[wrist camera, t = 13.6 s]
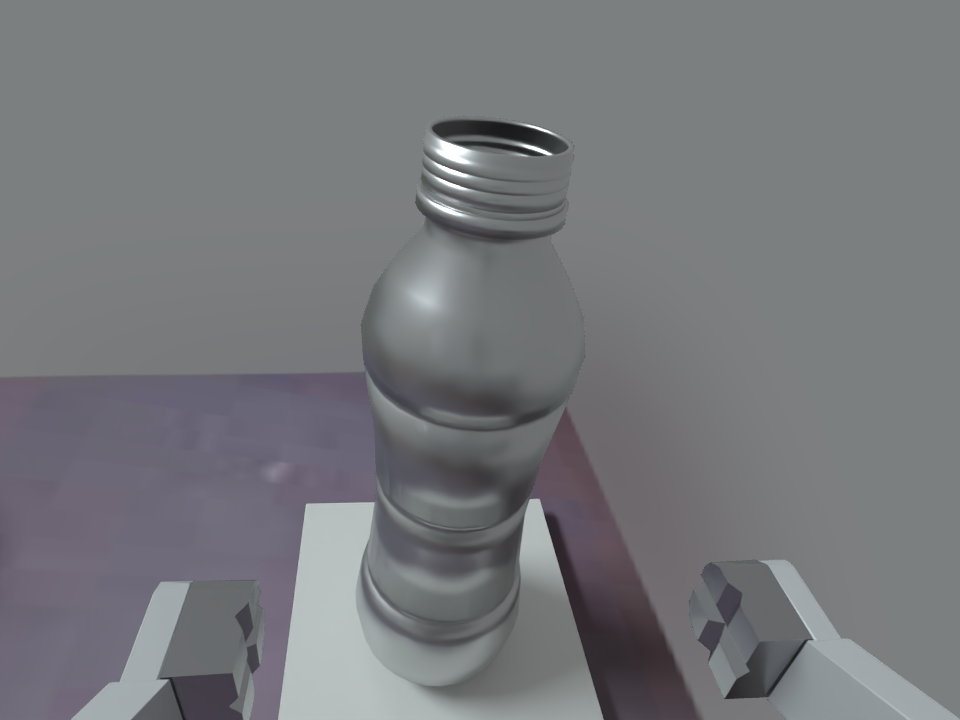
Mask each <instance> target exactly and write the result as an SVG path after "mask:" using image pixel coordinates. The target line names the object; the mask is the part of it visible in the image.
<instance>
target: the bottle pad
mask: <svg viewBox="0 0 960 720" xmlns="http://www.w3.org/2000/svg"><path fill="white" fill-rule="evenodd" d="M374 504H375V502H371V503H322V504H306V509H305V517H304V525H303V532H302V540H301V548H300V556H299V563H298V571H297V579H296V587H295V594H294V602H293V610H292V618H291V625H290V633H289V641H288V649H287V656H286V664H285V672H284V679H283V687H282V695H281V703H280V710H279V718H278V720H604V719H603V716H602V712H601V709H600V706H599V702H598V699H597V695H596V692H595V688H594V685H593V681H592V678H591V675H590V671H589V668H588V664H587V661H586V657H585V654H584V651H583V647H582V644H581V640H580V637H579V633H578V630H577V626H576V623H575V620H574V616H573V613H572V609H571V606H570V602H569V599H568V596H567V592H566V589H565V585H564V582H563V578H562V575H561V571H560V568H559V565H558V561H557V558H556V554H555V551H554V547H553V544H552V541H551V537H550V534H549V530H548V527H547V523H546V520H545V516H544V513H543V510H542V506H541V503H540V499H530V500H529V503H528V506H527V509H526V512H525V517H524V525H523V533H522V541H521V549H520V557H519V562H520V574H521V586H520V601H519V610H518V616H517V619H516V622H515V625H514V628H513V630H512V632H511V634H510V635H509V637H508V639H507V640H506V642H505V643H504V645H503V647H502V648H501V650H500V652H499V653H498V655H497V657H496V658H495V659H494V660H493V661H492V662H491V663H490V665H489V666H488V667H487V668H486V669H485V670H483V671H482V672H480V673H479V674H477V675H476V676H474V677H473V678H470V679H468V680H465V681H463V682H460V683H458V684H452V685H447V686H425V685H421V684H417V683H413V682H409V681H407V680H405V679H403V678H401V677H399V676H397V675H395V674H394V673H392V672H391V671H390V670H388V669H387V668H386V667H385V666H383V665H382V664H381V662H380V661H379V660H378V659H377V658H376V657H375V655H374V654H373V653H372V651H371V649H370V647H369V645H368V644H367V642H366V640H365V636H364V633H363V629H362V626H361V622H360V619H359V615H358V611H357V608H356V594H355V592H356V585H357V579H358V574H359V569H360V564H361V560H362V556H363V553H364V550H365V548H366V545H367V542H368V540H369V537H370V530H371V524H372V517H373V510H374Z"/></svg>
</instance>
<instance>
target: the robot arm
mask: <svg viewBox="0 0 960 720" xmlns="http://www.w3.org/2000/svg"><path fill="white" fill-rule="evenodd" d="M701 576H702V578H703V580H704V582H703V583H702V584H701V585H699V586H698V587H696V588H695V589H694V590H693V593H692V595H691V598H690V600H689V616H690V620H691V624H692V628H693V630H694V632H695V635H696V637H697V639H698V641H700V642H701V643H702V644H703V645H704V646H705V647H707V648H708V649H709V650H710V651H711V652H710V656H709V661H708V664H709V666H710V669H711V671H712V673H713V675H714V677H715V680H716V682H717V684H718V686H719V689H720V691H721V693H722V695H723V697H724V699H735V698H758V697H768V699H767V700H768V701H769V702H770V703H771V704H772V705H773V706H774V707H775V708H776V709H777V710H778V711H779V712H780V713H781V714H782V715H783V716H784V717H785V718H786V719H787V720H960V719H959V718H958V717H956V716H955V715H953V714H952V713H951V712H949V711H948V710H947V709H945V708H944V707H942V706H941V705H940V704H938V703H937V702H936V701H934V700H933V699H931V698H930V697H929V696H927V695H926V694H925V693H923V692H922V691H921V690H919V689H917V688H916V687H915V686H914V685H912V684H911V683H910V682H908V681H907V680H905V679H904V678H903V677H901V676H900V675H899V674H897V673H895V672H894V671H893V670H892V669H890V668H889V667H887V666H886V665H885V664H883V663H882V662H881V661H879V660H878V659H876V658H875V657H874V656H872V655H871V654H870V653H868V652H867V651H865V650H864V649H863V648H861V647H860V646H858V645H857V644H856V643H854V642H853V641H852V640H850V639H849V638H843V639H842V638H841V637H840V636H839V634H838V633H837V631H836V630H835V628H834V627H833V625H832V624H831V622H830V621H829V619H828V618H827V616H826V615H825V613H824V611H823V610H822V608H821V607H820V606H819V604H818V602H817V601H816V600H815V598H814V597H813V595H812V593H811V592H810V590H809V589H808V587H807V586H806V584H805V583H804V581H803V580H802V578H801V577H800V575H799V574H798V572H797V571H796V569H795V568H794V566H793V565H792V564H791V563H789V562H788V561H787V560H764V561H758V560H747V561H728V562H711V563H709V564H708V565H706V566H705V567H704V569H703V571H702V574H701ZM259 597H260V587H259V582H258V580H226V581H176V582H161V583H160V584H159V586H158V587H157V588H156V590H155V591H154V593H153V596H152V598H151V601H150V603H149V606H148V609H147V611H146V614H145V617H144V619H143V622H142V625H141V627H140V630H139V632H138V635H137V638H136V640H135V643H134V646H133V648H132V651H131V654H130V656H129V659H128V662H127V664H126V667H125V669H124V672H123V675H122V677H121V680H120V682H110V683H109V684H108V685H107V686H105V687H104V688H103V689H102V690H101V691H100V692H99V693H98V694H97V695H96V696H95V697H94V698H93V699H92V700H91V701H90V702H89V703H88V704H87V705H86V706H85V707H83V708H82V709H81V710H80V711H79V712H78V713H77V714H76V715H75V716H74V717H73V718H72V719H71V720H250V715H251V710H252V704H253V699H254V694H255V691H254V685H253V679H252V674H253V673H254V672H255V670H256V669H257V668H258V667H259V666H260V662H261V656H262V650H263V642H264V631H265V625H264V611H263V608H262V607H261V606H259V605H258V602H259Z"/></svg>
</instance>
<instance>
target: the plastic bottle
mask: <svg viewBox="0 0 960 720" xmlns="http://www.w3.org/2000/svg"><path fill="white" fill-rule="evenodd" d="M573 152H574V145H573V143H572V141H570V140H569V139H567V138H566V137H564V136H562V135H561V134H559V133H556V132H554V131H551V130H549V129H546V128H543V127H540V126H536V125H532V124H528V123H524V122H519V121H514V120H508V119H501V118H493V117H484V116H449V117H442V118H437V119H434V120H432V121H430V122H428V123H427V125H426V132H425V133H424V141H423V157H422V172H421V177H420V178H419V180H418V181H417V186H416V201H415V203H416V206H417V208H418V209H419V211H421V213H422V214H423V215H425V216H426V217H425V221H424V224H423V225H422V226H421V227H420V228H419V230H417V232H416V233H415V234H414V235H413V236H412V237H411V238H410V239H409V240H408V241H407V242H406V243H405V245H404V246H403V247H402V248H401V249H400V250H399V251H398V252H397V254H396V255H395V257H394V258H393V259H392V261H391V262H390V263H389V265H388V266H387V267H386V269H385V270H384V272H383V273H382V274H381V276H380V277H379V279H378V280H377V282H376V283H375V284H374V286H373V288H372V291H371V294H370V297H369V300H368V302H367V305H366V308H365V311H364V314H363V318H362V322H361V334H362V352H363V360H364V365H365V372H366V379H367V386H368V393H369V399H370V406H371V412H372V419H373V426H374V442H375V465H376V473H375V474H376V497H375V504H374V510H373V517H372V524H371V530H370V537H369V540H368V542H367V545H366V548H365V550H364V553H363V556H362V560H361V564H360V569H359V574H358V579H357V585H356V592H355V594H356V608H357V611H358V615H359V619H360V622H361V626H362V629H363V633H364V636H365V640H366V642H367V644H368V645H369V647H370V649H371V651H372V653H373V654H374V655H375V657H376V658H377V659H378V660H379V661H380V662H381V664H382V665H383V666H385V667H386V668H387V669H388V670H390V671H391V672H392V673H394V674H395V675H397V676H399V677H401V678H403V679H405V680H407V681H409V682H413V683H417V684H421V685H425V686H447V685H452V684H458V683H460V682H463V681H465V680H468V679H470V678H473V677H474V676H476V675H477V674H479V673H480V672H482V671H483V670H485V669H486V668H487V667H488V666H489V665H490V663H491V662H492V661H493V660H494V659H495V658H496V657H497V655H498V653H499V652H500V650H501V648H502V647H503V645H504V643H505V642H506V640H507V639H508V637H509V635H510V634H511V632H512V630H513V628H514V625H515V622H516V619H517V616H518V610H519V601H520V586H521V574H520V562H519V557H520V549H521V541H522V533H523V525H524V517H525V512H526V509H527V506H528V503H529V500H530V497H531V492H532V489H533V486H534V484H535V481H536V478H537V475H538V471H539V468H540V465H541V462H542V459H543V455H544V453H545V451H546V449H547V447H548V444H549V442H550V440H551V438H552V436H553V433H554V431H555V429H556V427H557V425H558V422H559V420H560V418H561V416H562V414H563V411H564V409H565V407H566V405H567V403H568V400H569V397H570V395H571V394H572V392H573V389H574V387H575V384H576V382H577V379H578V376H579V373H580V370H581V367H582V364H583V362H584V359H585V331H584V317H583V313H582V311H581V308H580V305H579V302H578V300H577V297H576V295H575V292H574V289H573V286H572V284H571V281H570V278H569V276H568V274H567V272H566V270H565V268H564V266H563V264H562V262H561V260H560V258H559V256H558V254H557V252H556V250H555V248H554V246H553V244H552V242H551V234H554V233H556V232H558V231H559V230H561V229H562V227H563V226H564V225H565V220H566V216H567V211H568V201H567V199H566V195H567V190H568V185H569V180H570V175H571V169H572V165H573V160H574V154H573Z"/></svg>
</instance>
